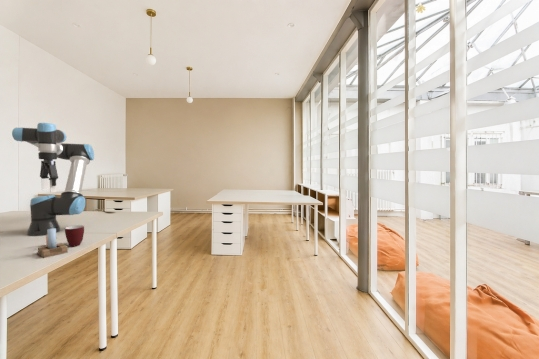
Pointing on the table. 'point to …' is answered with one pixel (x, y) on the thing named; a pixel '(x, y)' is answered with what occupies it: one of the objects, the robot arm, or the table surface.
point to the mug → (74, 235)
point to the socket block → (52, 250)
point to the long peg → (51, 238)
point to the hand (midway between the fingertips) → (49, 191)
